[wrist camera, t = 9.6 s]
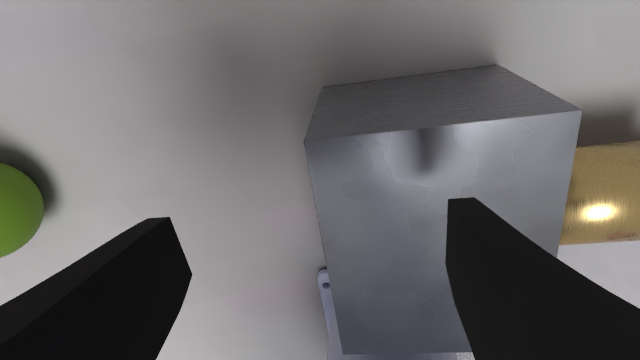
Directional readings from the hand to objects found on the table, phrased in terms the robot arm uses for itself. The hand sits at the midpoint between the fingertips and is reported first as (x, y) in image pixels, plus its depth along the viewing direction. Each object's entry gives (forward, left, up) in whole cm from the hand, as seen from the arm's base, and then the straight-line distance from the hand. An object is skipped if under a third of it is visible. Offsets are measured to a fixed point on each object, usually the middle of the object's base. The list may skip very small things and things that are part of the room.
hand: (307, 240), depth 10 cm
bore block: (-3, -4, -10) cm, 11 cm away
